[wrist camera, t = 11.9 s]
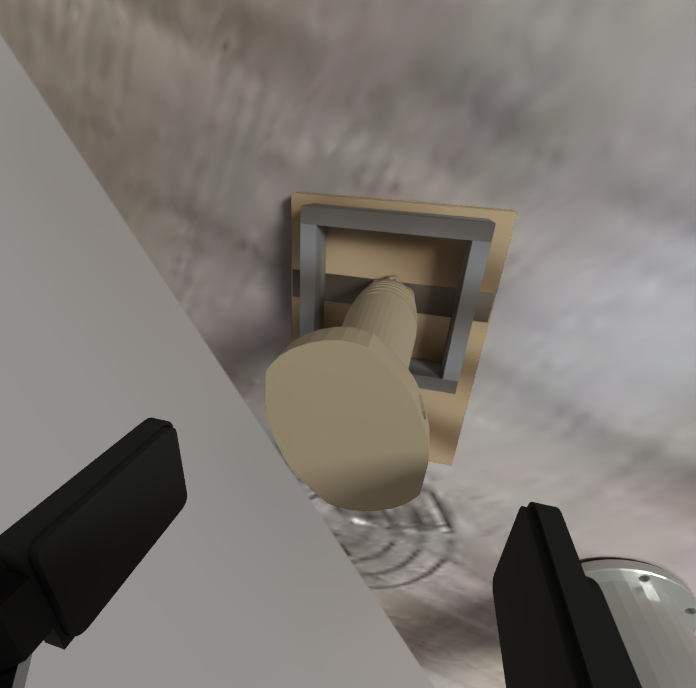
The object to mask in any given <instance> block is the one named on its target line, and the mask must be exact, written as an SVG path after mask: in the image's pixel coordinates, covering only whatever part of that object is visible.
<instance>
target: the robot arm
mask: <svg viewBox="0 0 696 688" xmlns="http://www.w3.org/2000/svg"><path fill="white" fill-rule="evenodd" d="M186 500H187V491H186V485H185V479H184V473H183V467H182V461H181V455H180V449H179V443H178V438H177V432H176V429H175V428H173V425H172V424H171V422H169V421H164V420H159V419H155V418H148V419H146V420H144V421H143V422H142V423H141V424H139V425H138V426H137V427H135V428H134V429H133V430H132V431H130V432H129V433H128V434H127V435H125V436H124V437H123V438H122V439H120V440H119V441H118V442H117V443H115V444H114V445H113V446H112V447H110V448H109V449H108V450H106V451H105V452H104V453H103V454H102V455H100V456H99V457H98V458H97V459H95V460H94V461H93V462H91V463H90V464H89V465H88V466H86V467H85V468H84V469H83V470H81V471H80V472H79V473H78V474H76V475H75V476H74V477H73V478H71V479H70V480H69V481H68V482H66V483H65V484H64V485H62V486H61V487H60V488H59V489H58V490H56V491H55V492H54V493H52V494H51V495H50V496H49V497H47V498H46V499H45V500H44V501H43V502H41V503H40V504H39V505H37V506H36V507H35V508H34V509H33V510H31V511H30V512H29V513H27V514H26V515H25V516H24V517H22V518H21V519H20V520H19V521H17V522H16V523H15V524H13V525H12V526H11V527H10V528H8V529H7V530H6V531H5V532H3V533H2V534H1V535H0V688H24V687H25V683H26V678H27V674H28V670H29V666H30V661H31V657H32V653H33V652H34V650H35V649H36V648H37V647H38V646H39V644H40V643H41V642H42V641H43V640H44V641H45V642H46V643H48V644H51V645H54V646H56V647H59V648H62V649H65V648H66V647H67V646H68V645H69V643H70V642H71V641H72V640H73V638H74V637H75V636H78V635H80V634H82V633H83V632H84V631H85V630H86V629H87V628H88V627H89V626H90V624H91V623H92V622H93V621H94V620H95V618H96V617H97V616H98V615H99V613H100V612H101V611H102V609H103V608H104V607H105V606H106V604H107V603H108V602H109V601H110V599H111V598H112V597H113V595H114V594H115V593H116V592H117V591H118V589H119V588H120V587H121V585H122V584H123V583H124V582H125V580H126V579H127V578H128V577H129V575H130V574H131V573H132V572H133V570H134V569H135V568H136V566H137V565H138V564H139V563H140V562H141V560H142V559H143V558H144V557H145V555H146V554H147V553H148V551H149V550H150V549H151V548H152V546H153V545H154V544H155V543H156V541H157V540H158V539H159V538H160V536H161V535H162V534H163V533H164V531H165V530H166V529H167V527H168V526H169V525H170V524H171V522H172V521H173V520H174V518H175V517H176V516H177V515H178V514H179V512H180V511H181V510H182V508H183V507H184V505H185V503H186ZM493 596H494V603H495V611H496V618H497V625H498V632H499V639H500V646H501V654H502V661H503V668H504V675H505V682H506V688H696V636H695V634H694V631H695V630H696V598H695V596H694V595H693V593H692V592H691V590H690V589H689V587H688V586H687V585H686V584H685V583H684V582H683V581H682V580H680V579H679V578H678V577H676V576H675V575H673V574H671V573H669V572H668V571H666V570H663V569H661V568H658V567H655V566H653V565H649V564H645V563H641V562H637V561H629V560H618V559H604V560H593V561H588V562H583V563H581V562H580V560H579V557H578V555H577V552H576V549H575V547H574V544H573V542H572V539H571V536H570V534H569V531H568V529H567V526H566V523H565V521H564V518H563V516H562V513H561V511H560V510H559V509H558V508H557V507H553V506H548V505H544V504H539V503H535V502H530V503H529V505H528V506H527V507H524V506H521V507H520V509H519V511H518V514H517V517H516V519H515V522H514V524H513V527H512V529H511V532H510V535H509V537H508V540H507V542H506V545H505V548H504V550H503V553H502V555H501V558H500V560H499V563H498V566H497V568H496V571H495V573H494V577H493Z"/></svg>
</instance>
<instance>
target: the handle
mask: <svg viewBox="0 0 696 688" xmlns="http://www.w3.org/2000/svg"><path fill="white" fill-rule="evenodd" d="M416 333H417V310H416V304H415V297H414V292H413V290H412V289H411V288H410V287H407V286H405V285H404V284H403V283H402V282H401V281H400V280H399V278H398V276H395V275H390V276H389V277H388V278H386V279H383V280H377V279H376V280H374V281H373V282H372V283H371V284H370V285H369V286H368V287H366V288H365V289H364V290H363V291H362V292H361V293H360V294H359V295H358V297H357V298H356V299H355V301H354V302H353V304H352V305H351V307H350V309H349V310H348V312H347V315H346V317H345V320H344V322H343V324H342V327H331V328H325V329H320V330H317V331H314V332H311V333H308V334H306V335H303V336H302V337H300V338H298V339H296V340H295V341H293V342H292V343H291V344H290V345H288V346H287V347H286V348H285V349H284V350H283V351H282V352H281V353H280V355H279V356H278V357H277V358H276V359H275V360H274V361H273V363H272V364H271V365H270V366H269V368H268V369H267V370H266V385H265V402H266V415H267V421H268V424H269V427H270V429H271V432H272V434H273V436H274V438H275V440H276V442H277V444H278V446H279V448H280V450H281V452H282V454H283V456H284V458H285V460H286V461H287V463H288V465H289V466H290V468H291V469H292V470H293V471H294V472H295V474H296V475H297V476H298V477H299V478H300V479H301V480H302V481H303V482H304V483H305V484H307V485H308V486H309V487H310V488H311V489H312V490H313V491H314V492H315V493H317V494H318V495H319V496H320V497H321V498H322V499H323V500H325V501H326V502H327V503H329V504H331V505H334V506H337V507H340V508H344V509H348V510H357V511H378V510H385V509H391V508H394V507H398V506H401V505H404V504H405V503H407V502H409V501H411V500H413V499H414V498H415V497H417V496H418V495H420V491H421V488H422V484H423V481H424V477H425V473H426V469H427V465H428V458H429V443H430V434H429V423H428V417H427V413H426V409H425V406H424V402H423V398H422V394H421V392H420V389H419V387H418V385H417V382H416V381H415V379H414V377H413V375H412V374H411V372H410V371H409V370H408V369H409V364H410V360H411V355H412V351H413V347H414V343H415V339H416Z"/></svg>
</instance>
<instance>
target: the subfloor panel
mask: <svg viewBox="0 0 696 688" xmlns="http://www.w3.org/2000/svg"><path fill="white" fill-rule="evenodd" d="M517 213H518V212H516V211H514V210H505V209H494V208H482V207H470V206H458V205H446V204H434V203H423V202H411V201H399V200H387V199H375V198H363V197H351V196H340V195H328V194H316V193H304V192H295V193H291V255H292V342H293V341H295V340H296V339H298V338H300V337H302V336H303V335H306V334H308V333H311V332H314V331H317V330H320V329H325V328H331V327H342V324H343V322H344V320H345V317H346V315H347V312H348V310H349V309H350V307H351V305H352V304H353V302H354V301H355V299H356V298H357V297H358V295H359V294H360V293H361V292H362V291H363V290H364V289H365V288H366V287H368V286H369V285H370V284H371V283H372V282H373V281H374V280H376V279H377V280H383V279H386V278H388V277H389V276H390V275H395V276H398V278H399V280H400V281H401V282H402V283H403V284H404V285H405V286H407V287H410V288H411V289H412V290H413V292H414V297H415V304H416V310H417V333H416V339H415V343H414V347H413V351H412V355H411V360H410V364H409V369H408V370H409V371H410V372H411V374H412V375H413V377H414V379H415V381H416V382H417V385H418V387H419V389H420V392H421V394H422V398H423V402H424V406H425V409H426V413H427V417H428V423H429V434H430V443H429V458H428V461H430V462H435V463H440V464H445V465H450V466H452V462H453V458H454V454H455V451H456V447H457V443H458V439H459V435H460V431H461V428H462V424H463V420H464V416H465V412H466V408H467V405H468V401H469V397H470V393H471V389H472V385H473V382H474V378H475V374H476V370H477V366H478V362H479V359H480V355H481V351H482V347H483V343H484V339H485V336H486V332H487V328H488V324H489V320H490V317H491V313H492V309H493V305H494V301H495V297H496V294H497V290H498V286H499V282H500V278H501V274H502V271H503V267H504V263H505V259H506V255H507V251H508V248H509V244H510V240H511V236H512V232H513V228H514V225H515V221H516V217H517Z"/></svg>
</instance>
